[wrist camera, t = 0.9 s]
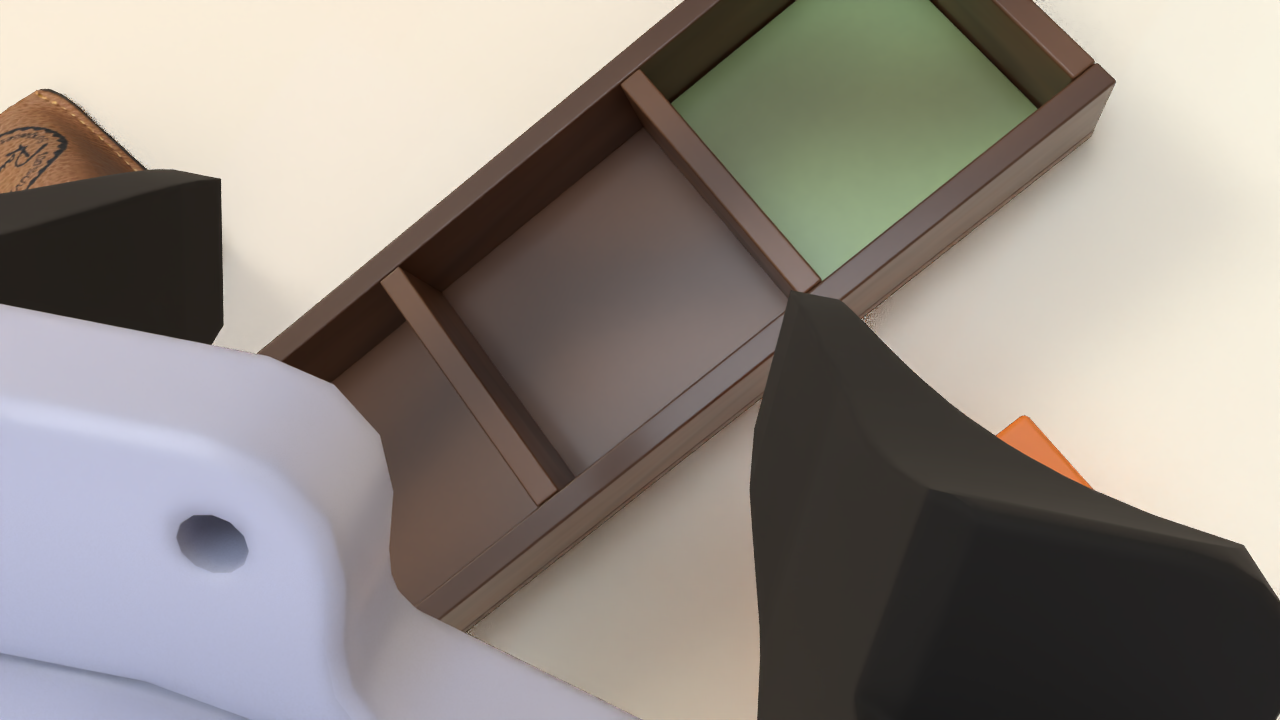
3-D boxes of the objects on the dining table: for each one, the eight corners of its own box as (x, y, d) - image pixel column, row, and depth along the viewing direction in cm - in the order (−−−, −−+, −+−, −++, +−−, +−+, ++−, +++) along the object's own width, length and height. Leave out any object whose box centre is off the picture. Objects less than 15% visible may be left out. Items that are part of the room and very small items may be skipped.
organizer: (1092, 135, 24) (1118, 80, 22) (360, 715, 26) (297, 733, 23) (873, -81, 27) (871, -156, 24) (210, 464, 28) (135, 452, 25)
